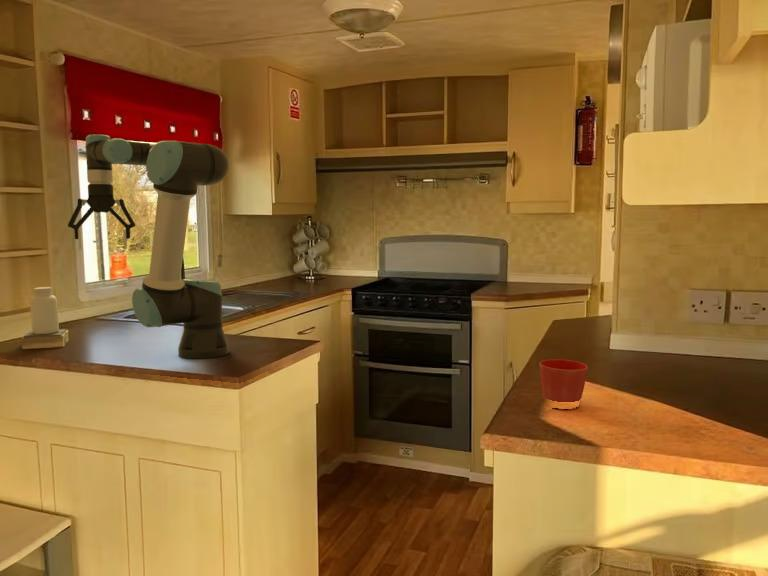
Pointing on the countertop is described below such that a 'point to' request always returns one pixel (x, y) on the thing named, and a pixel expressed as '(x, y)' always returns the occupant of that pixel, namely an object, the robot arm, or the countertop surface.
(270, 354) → the countertop surface
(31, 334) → the stand
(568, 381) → the flower pot
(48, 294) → the pill bottle
